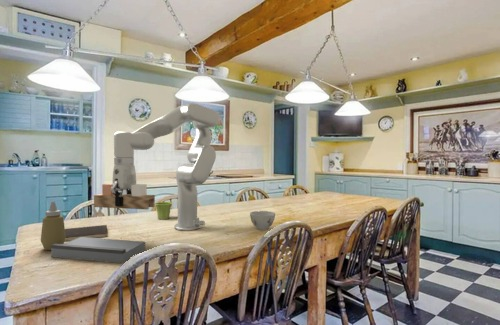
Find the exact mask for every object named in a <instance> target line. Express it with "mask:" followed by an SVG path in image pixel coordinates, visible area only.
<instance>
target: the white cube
mask: <svg viewBox="0 0 500 325" xmlns="http://www.w3.org/2000/svg"><path fill="white" fill-rule="evenodd" d="M131 186H132V196H144V195H148V194H147V190H148V189H147V184H146V183H136V184H135V185H131Z"/></svg>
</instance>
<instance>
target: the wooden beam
mask: <svg viewBox="0 0 500 325" xmlns="http://www.w3.org/2000/svg"><path fill="white" fill-rule="evenodd" d="M122 197H123V206H122V207H118V206H115V197H114V195H102V193H99V194H93V207H94V208H103V209H104V208H106V209H107V208H109V209H127V210H129V209H131V210H149V209H150V208H155V207H156V205H155V203H156V202H155V199H156V198H155V197H156V194H147V195H144V196H132V194H127V193H122Z"/></svg>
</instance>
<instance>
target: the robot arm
mask: <svg viewBox="0 0 500 325" xmlns="http://www.w3.org/2000/svg"><path fill="white" fill-rule="evenodd" d="M220 121H221V117H220V114H219V113H218V111H216V110H215V109H212V108H209V107H206V106H204V105H201V104H197V103H193V102H192V103H187V104H182V105H179V106H177V107H175V108H174V109H172V110H171V111H169V112H168V113H166V114H165V115H164V114H163V115H162V116H161V117H159V118H157V119H155V120H153V121H150V122H149V123H147V124H145V125H143V126H142V127H139V128H138V129H137V130H135V131H133V132H130V131H115V133H114V134H113V170H112V183H113V185H112V187H111V191H112V192H113V194H114V197H115V206H118V207H122V206H123V197H122V194H124V193H123V192H124V191H125V194H132V186H131V185H135V184H137V175H136V174H137V173H136V166H135V157H134V156H135V155H134V154H135V150H136V151H146V150H149V149H150V150H151V148H153V146H154V144H155V139H157V138H160V137H164V136H168V135H170V134H173V133H174V132H175V131H177V130H178V129H179V128H181V127H183V126H184V125H186V124H188V123H190V122H192V125H193V128H194V129H195V136H194V139H193V142H192V144H191V145H190V147H189V150H188V152H187V156H186V158H187V160H188V162H189V163H191V164H189V163H186V164H185V163H183V164H181V165H180V166H179V167H177V170H176V171H175V179H176V183H177V223H176V224H175V225H174V229H175V230H178V231H194V230H198V229H200V227H201V226H205V225H206V223H205V220H200V217H198V188H197V185H198V186H199V185H200V186H201V185H203V184H204V183H205V182H206V181H207V180H208V179H209V176H210V173H211V171H212V169H213V167H214V164H215V162H216V159H217V158H216V157H217V153H216V150H215V148H214V147H213V146H212V145H211V143H212V139H213V138H212V134H211V130H210V128H216V127H217V126H218V125H219V124H220V123H221V122H220Z"/></svg>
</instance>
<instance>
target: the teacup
mask: <svg viewBox="0 0 500 325" xmlns="http://www.w3.org/2000/svg"><path fill="white" fill-rule="evenodd" d="M275 216H276V213H275V212H273V211H267V210H260V211H258V210H257V211H256V210H254V211H251V212H250V213H249V217H250V220H251V223H252V225H253V226H254V228H256V230H258V231H266V230H269V228H271V226H272V225H273V224H274V221H275V218H276V217H275Z"/></svg>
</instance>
